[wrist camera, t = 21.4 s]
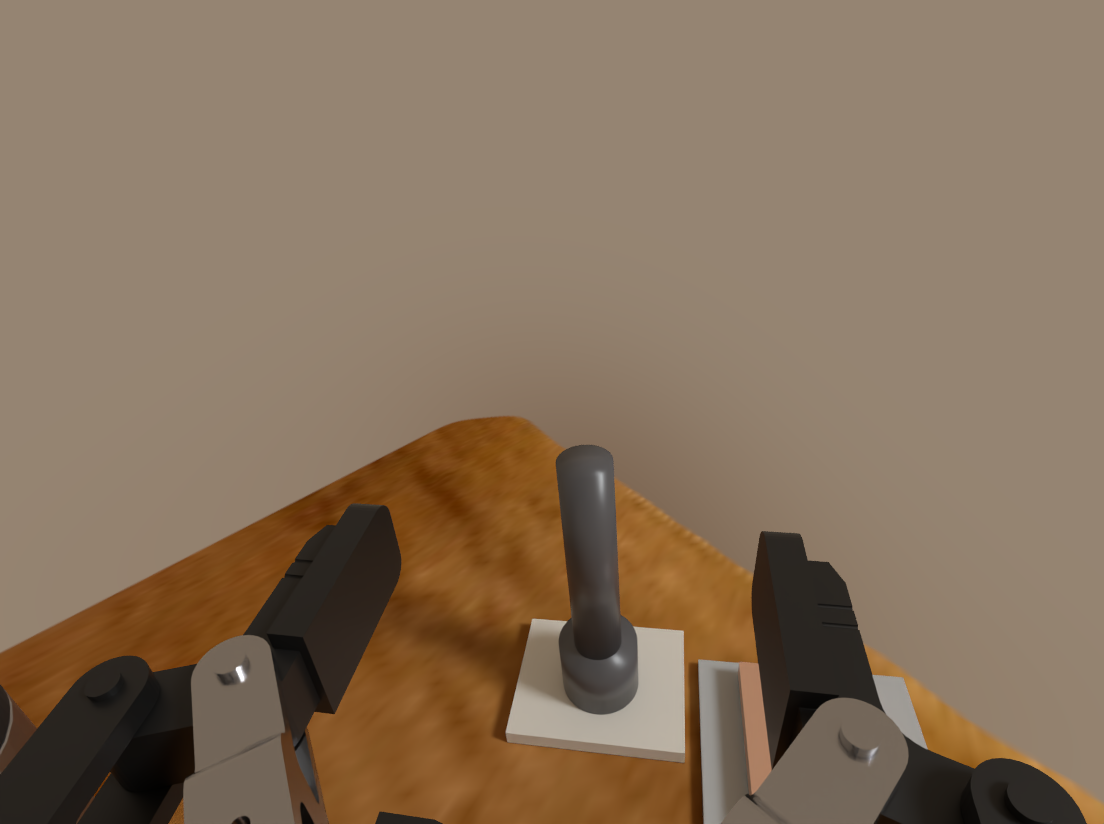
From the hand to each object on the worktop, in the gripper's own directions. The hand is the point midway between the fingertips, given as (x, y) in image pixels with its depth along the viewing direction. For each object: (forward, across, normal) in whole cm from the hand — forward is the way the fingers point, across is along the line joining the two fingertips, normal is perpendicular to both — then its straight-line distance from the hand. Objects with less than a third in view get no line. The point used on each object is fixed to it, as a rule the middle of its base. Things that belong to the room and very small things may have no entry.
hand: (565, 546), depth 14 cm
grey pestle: (+16, +1, +28) cm, 33 cm away
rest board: (+16, +1, +29) cm, 34 cm away
